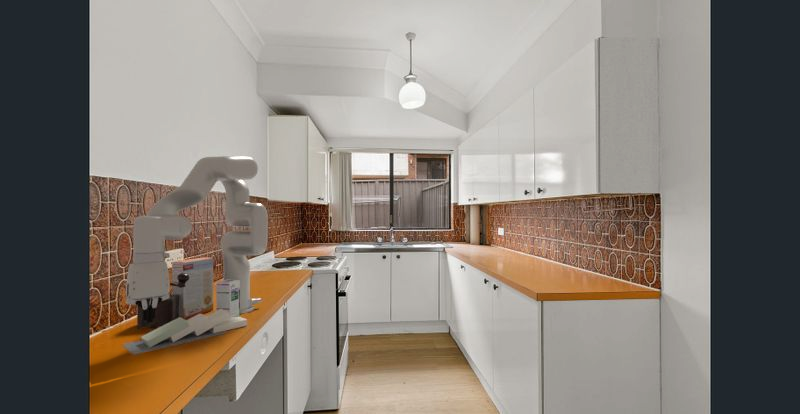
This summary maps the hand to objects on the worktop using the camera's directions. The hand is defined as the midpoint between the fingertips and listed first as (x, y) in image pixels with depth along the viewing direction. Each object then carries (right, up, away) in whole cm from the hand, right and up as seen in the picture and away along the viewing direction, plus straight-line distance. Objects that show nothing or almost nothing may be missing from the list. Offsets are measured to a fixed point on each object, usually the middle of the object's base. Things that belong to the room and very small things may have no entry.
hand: (148, 321), depth 111 cm
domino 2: (+4, -6, +4) cm, 8 cm away
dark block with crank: (-8, -8, +22) cm, 25 cm away
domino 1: (0, -6, -1) cm, 6 cm away
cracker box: (-6, -8, +35) cm, 36 cm away
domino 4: (+12, -6, +13) cm, 18 cm away
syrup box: (+12, -8, +26) cm, 29 cm away
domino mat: (+5, -7, +5) cm, 10 cm away
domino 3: (+8, -6, +9) cm, 13 cm away
